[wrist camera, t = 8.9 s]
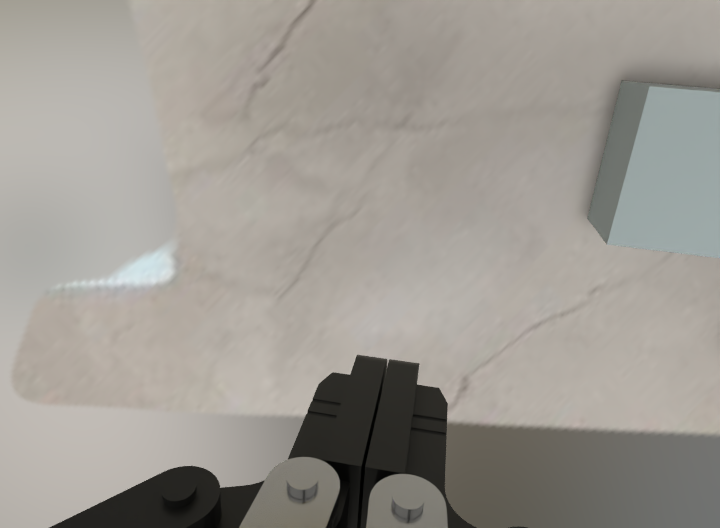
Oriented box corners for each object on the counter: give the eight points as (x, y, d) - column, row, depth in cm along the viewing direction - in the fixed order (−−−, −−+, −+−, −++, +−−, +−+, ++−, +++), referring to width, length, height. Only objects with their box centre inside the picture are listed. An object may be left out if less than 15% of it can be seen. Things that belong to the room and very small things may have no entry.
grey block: (620, 80, 30) (649, 86, 25) (817, 96, 28) (885, 105, 24) (586, 217, 33) (607, 244, 28) (761, 237, 31) (813, 269, 27)
